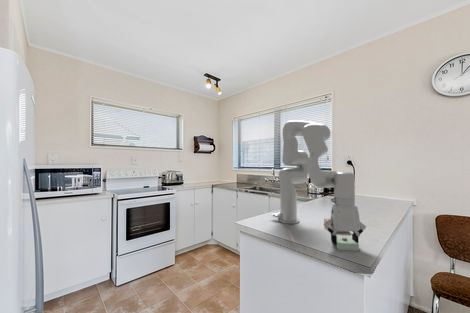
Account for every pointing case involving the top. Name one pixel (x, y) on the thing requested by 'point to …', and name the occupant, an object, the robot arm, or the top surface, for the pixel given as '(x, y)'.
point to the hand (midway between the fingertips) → (344, 244)
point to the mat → (338, 249)
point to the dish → (331, 226)
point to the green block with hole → (347, 244)
